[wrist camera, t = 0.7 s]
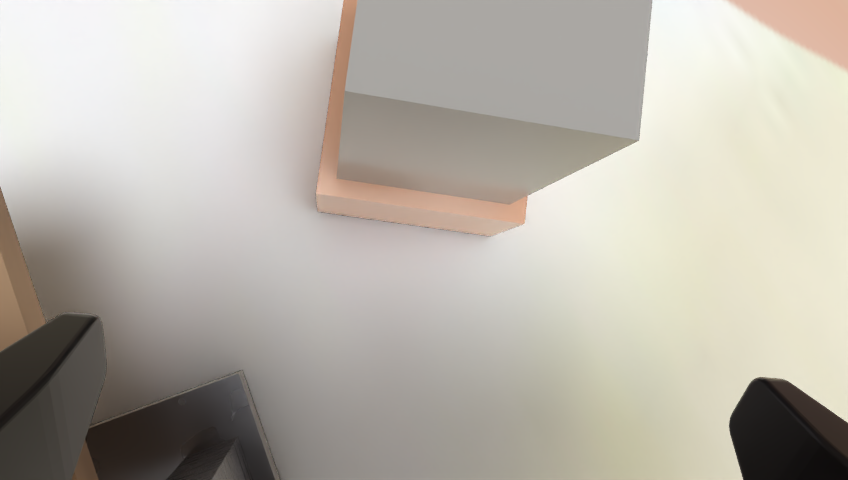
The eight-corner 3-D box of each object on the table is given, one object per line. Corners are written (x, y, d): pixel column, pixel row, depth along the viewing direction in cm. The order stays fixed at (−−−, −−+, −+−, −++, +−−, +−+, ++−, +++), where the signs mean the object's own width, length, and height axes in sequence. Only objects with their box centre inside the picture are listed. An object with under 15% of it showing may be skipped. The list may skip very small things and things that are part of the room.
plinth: (490, 236, 23) (524, 224, 19) (317, 211, 22) (316, 193, 18) (509, 70, 24) (546, 25, 20) (342, 40, 23) (345, -13, 19)
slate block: (509, 204, 19) (638, 140, 11) (336, 178, 18) (344, 91, 11) (528, 38, 20) (665, -135, 12) (360, 7, 19) (385, -199, 11)
